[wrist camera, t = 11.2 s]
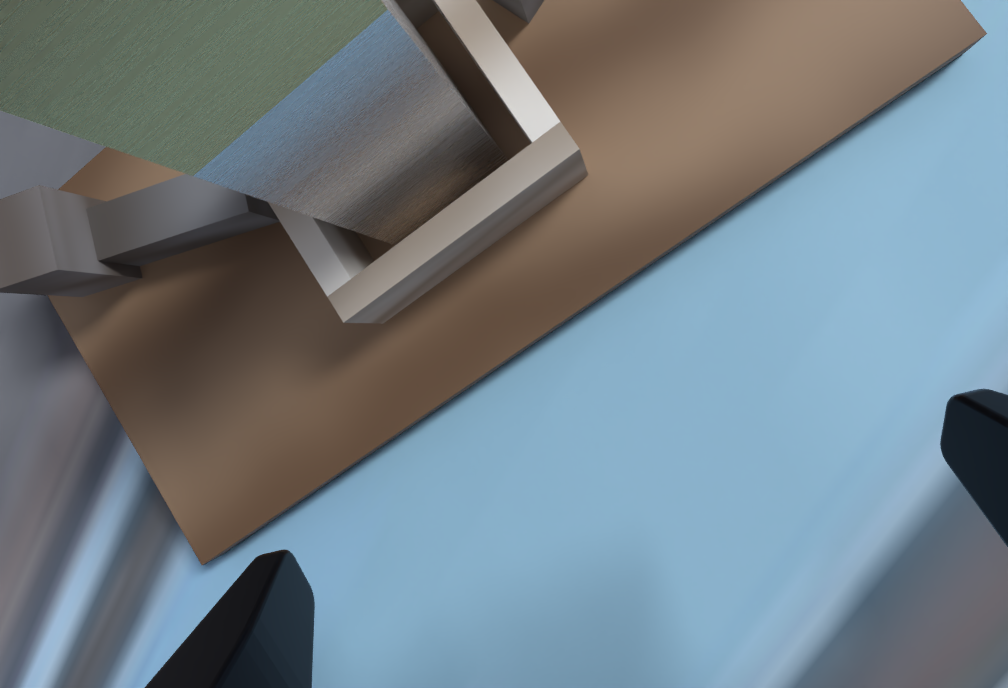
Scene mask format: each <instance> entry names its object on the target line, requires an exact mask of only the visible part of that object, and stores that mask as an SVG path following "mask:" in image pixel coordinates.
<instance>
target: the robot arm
mask: <svg viewBox="0 0 1008 688" xmlns="http://www.w3.org/2000/svg"><path fill="white" fill-rule="evenodd" d="M940 445H941V451H942V454H943V457H944V459H945V461H946V462H947V464H948V465H949V467H950V468H951V469H952V471H953V472H954V473H955V475H956V476H957V478H958V479H959V480H960V482H961V483H962V485H963V486H964V487H965V489H966V490H967V491H968V493H969V494H970V496H971V497H972V498H973V500H974V501H975V503H976V504H977V505H978V507H979V508H980V510H981V511H982V512H983V514H984V515H985V516H986V518H987V519H988V521H989V522H990V523H991V525H992V526H993V528H994V529H995V530H996V532H997V533H998V534H999V536H1000V537H1001V539H1002V540H1003V541H1004V543H1005V544H1006V545H1007V547H1008V395H1006V394H1003V393H999V392H996V391H993V390H989V389H978V390H973V391H969V392H965V393H960V394H956V395H954V396H952V397H951V398H950V399H949V401H948V402H947V406H946V411H945V417H944V423H943V429H942V435H941V442H940ZM314 608H315V603H314V596H313V592H312V589H311V586H310V584H309V583H308V581H307V579H306V577H305V575H304V574H303V572H302V570H301V568H300V566H299V564H298V563H297V561H296V559H295V557H294V556H293V554H292V553H291V552H290V551H288V550H279V551H275V552H271V553H266V554H262V555H260V556H258V557H256V558H255V559H254V560H253V561H252V562H251V564H250V565H249V566H248V567H247V568H246V569H245V571H244V572H243V573H242V574H241V575H240V576H239V578H238V579H237V580H236V581H235V582H234V583H233V585H232V586H231V587H230V588H229V589H228V591H227V592H226V593H225V594H224V595H223V596H222V598H221V599H220V600H219V601H218V602H217V603H216V605H215V606H214V607H213V608H212V609H211V610H210V612H209V613H208V614H207V615H206V616H205V617H204V619H203V620H202V621H201V622H200V623H199V625H198V626H197V627H196V628H195V629H194V630H193V632H192V633H191V634H190V635H189V636H188V637H187V639H186V640H185V641H184V642H183V643H182V644H181V646H180V647H179V648H178V649H177V650H176V651H175V653H174V654H173V655H172V656H171V657H170V659H169V660H168V661H167V662H166V663H165V664H164V666H163V667H162V668H161V669H160V670H159V671H158V673H157V674H156V675H155V676H154V677H153V678H152V680H151V681H150V682H149V683H148V684H147V686H146V687H145V688H312V663H313V636H314Z"/></svg>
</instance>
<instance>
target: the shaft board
mask: <svg viewBox="0 0 1008 688" xmlns="http://www.w3.org/2000/svg"><path fill="white" fill-rule="evenodd" d="M395 1H396V3H397V4H398V5H399V7H400V8H401V9H402V11H403V12H404V13H405V15H406V16H407V17H408V19H409V20H410V21H411V23H412V24H413V25H414V27H415V28H416V29H417V31H418V32H419V33H420V35H421V36H422V37H423V39H424V40H425V41H426V43H427V44H428V45H429V47H430V48H431V49H432V51H433V52H434V54H435V55H436V57H437V58H438V60H439V61H440V62H441V64H442V65H443V67H444V68H445V70H446V71H447V73H448V74H449V76H450V77H451V78H452V80H453V81H454V83H455V84H456V86H457V87H458V89H459V90H460V92H461V93H462V94H463V96H464V97H465V99H466V100H467V102H468V103H469V105H470V106H471V108H472V109H473V110H474V112H475V113H476V115H477V116H478V118H479V119H480V121H481V122H482V124H483V125H484V126H485V128H486V129H487V131H488V132H489V134H490V135H491V137H492V138H493V140H494V141H495V142H496V144H497V145H498V147H499V148H500V150H501V151H502V153H503V154H504V156H505V157H506V158H507V160H508V161H507V162H506V163H504V164H503V165H502V166H500V167H499V168H498V169H496V170H495V171H494V172H493V173H491V174H490V175H489V176H487V177H486V178H485V179H483V180H482V181H481V182H479V183H478V184H477V185H475V186H474V187H473V188H471V189H470V190H469V191H467V192H466V193H465V194H463V195H462V196H461V197H459V198H458V199H457V200H455V201H454V202H453V203H451V204H450V205H449V206H447V207H446V208H445V209H443V210H442V211H441V212H439V213H438V214H437V215H435V216H434V217H433V218H431V219H430V220H429V221H427V222H426V223H425V224H423V225H422V226H421V227H419V228H418V229H417V230H415V231H414V232H413V233H411V234H410V235H409V236H407V237H406V238H405V239H403V240H402V241H401V242H399V243H398V244H397V245H393V244H390V243H387V242H384V241H381V240H378V239H375V238H373V237H370V236H367V235H364V234H361V233H358V232H355V231H352V230H349V229H346V228H343V227H340V226H337V225H334V224H332V223H329V222H326V221H323V220H320V219H317V218H314V217H311V216H308V215H305V214H302V213H299V212H296V211H293V210H291V209H288V208H285V207H282V206H279V205H276V204H273V203H270V202H267V201H264V200H261V199H258V198H255V197H252V196H250V195H247V194H244V193H241V192H238V191H235V190H232V189H229V188H226V187H223V186H220V185H217V184H214V183H211V182H208V181H206V180H203V179H200V178H197V177H194V176H191V175H188V174H185V173H182V172H179V171H176V170H173V169H170V168H167V167H165V166H162V165H159V164H156V163H153V162H150V161H147V160H144V159H141V158H138V157H135V156H132V155H129V154H126V153H124V152H121V151H118V150H115V149H112V148H109V147H105V148H104V149H103V150H102V151H101V152H100V153H99V154H98V155H97V156H95V157H94V158H93V159H92V160H91V161H90V162H89V163H88V164H86V165H85V166H84V167H83V168H82V169H81V170H80V171H79V172H77V173H76V174H75V175H74V176H73V177H72V178H71V179H70V180H68V181H67V182H66V183H65V184H64V185H63V186H62V187H61V188H59V189H58V190H57V189H52V188H48V187H44V186H40V185H38V186H35V187H33V188H30V189H27V190H24V191H22V192H19V193H16V194H14V195H11V196H8V197H5V198H3V199H0V292H1V293H19V294H36V295H48V297H49V299H50V301H51V302H52V304H53V306H54V308H55V309H56V311H57V313H58V315H59V316H60V318H61V320H62V322H63V323H64V325H65V327H66V329H67V330H68V332H69V334H70V336H71V337H72V339H73V341H74V343H75V344H76V346H77V348H78V350H79V351H80V353H81V355H82V357H83V358H84V360H85V362H86V364H87V365H88V367H89V369H90V371H91V372H92V374H93V376H94V378H95V379H96V381H97V383H98V385H99V386H100V388H101V390H102V392H103V393H104V395H105V397H106V399H107V400H108V402H109V404H110V406H111V407H112V409H113V411H114V412H115V414H116V416H117V418H118V419H119V421H120V423H121V425H122V426H123V428H124V430H125V432H126V433H127V435H128V437H129V439H130V440H131V442H132V444H133V446H134V447H135V449H136V451H137V453H138V454H139V456H140V458H141V460H142V461H143V463H144V465H145V467H146V468H147V470H148V472H149V474H150V475H151V477H152V479H153V481H154V482H155V484H156V486H157V488H158V489H159V491H160V493H161V495H162V496H163V498H164V500H165V502H166V503H167V505H168V507H169V509H170V510H171V512H172V514H173V516H174V517H175V519H176V521H177V523H178V524H179V526H180V528H181V530H182V531H183V533H184V535H185V537H186V538H187V540H188V542H189V544H190V545H191V547H192V549H193V551H194V552H195V554H196V556H197V557H198V559H199V561H200V563H201V564H202V565H204V564H206V563H207V562H209V561H211V560H213V559H215V558H217V557H219V556H221V555H222V554H224V553H225V552H227V551H228V550H230V549H231V548H233V547H234V546H236V545H237V544H239V543H240V542H242V541H243V540H245V539H246V538H248V537H249V536H251V535H252V534H253V533H255V532H256V531H258V530H259V529H261V528H262V527H264V526H265V525H267V524H268V523H270V522H271V521H273V520H274V519H276V518H277V517H279V516H280V515H282V514H283V513H285V512H286V511H287V510H289V509H290V508H292V507H293V506H295V505H296V504H298V503H299V502H301V501H302V500H304V499H305V498H307V497H308V496H310V495H311V494H313V493H314V492H316V491H317V490H319V489H320V488H322V487H323V486H324V485H326V484H327V483H329V482H330V481H332V480H333V479H335V478H336V477H338V476H339V475H341V474H342V473H344V472H345V471H347V470H348V469H350V468H351V467H353V466H354V465H356V464H357V463H358V462H360V461H361V460H363V459H364V458H366V457H367V456H369V455H370V454H372V453H373V452H375V451H376V450H378V449H379V448H381V447H382V446H384V445H385V444H387V443H388V442H390V441H391V440H392V439H394V438H395V437H397V436H398V435H400V434H401V433H403V432H404V431H406V430H407V429H409V428H410V427H412V426H413V425H415V424H416V423H418V422H419V421H421V420H422V419H424V418H425V417H426V416H428V415H429V414H431V413H432V412H434V411H435V410H437V409H438V408H440V407H441V406H443V405H444V404H446V403H447V402H449V401H450V400H452V399H453V398H455V397H456V396H458V395H459V394H461V393H462V392H463V391H465V390H466V389H468V388H469V387H471V386H472V385H474V384H475V383H477V382H478V381H480V380H481V379H483V378H484V377H486V376H487V375H489V374H490V373H492V372H493V371H495V370H496V369H497V368H499V367H500V366H502V365H503V364H505V363H506V362H508V361H509V360H511V359H512V358H514V357H515V356H517V355H518V354H520V353H521V352H523V351H524V350H526V349H527V348H529V347H530V346H531V345H533V344H534V343H536V342H537V341H539V340H540V339H542V338H543V337H545V336H546V335H548V334H549V333H551V332H552V331H554V330H555V329H557V328H558V327H560V326H561V325H563V324H564V323H565V322H567V321H568V320H570V319H571V318H573V317H574V316H576V315H577V314H579V313H580V312H582V311H583V310H585V309H586V308H588V307H589V306H591V305H592V304H594V303H595V302H597V301H598V300H600V299H601V298H602V297H604V296H605V295H607V294H608V293H610V292H611V291H613V290H614V289H616V288H617V287H619V286H620V285H622V284H623V283H625V282H626V281H628V280H629V279H631V278H632V277H634V276H635V275H636V274H638V273H639V272H641V271H642V270H644V269H645V268H647V267H648V266H650V265H651V264H653V263H654V262H656V261H657V260H659V259H660V258H662V257H663V256H665V255H666V254H668V253H669V252H670V251H672V250H673V249H675V248H676V247H678V246H679V245H681V244H682V243H684V242H685V241H687V240H688V239H690V238H691V237H693V236H694V235H696V234H697V233H699V232H700V231H702V230H703V229H704V228H706V227H707V226H709V225H710V224H712V223H713V222H715V221H716V220H718V219H719V218H721V217H722V216H724V215H725V214H727V213H728V212H730V211H731V210H733V209H734V208H736V207H737V206H739V205H740V204H741V203H743V202H744V201H746V200H747V199H749V198H750V197H752V196H753V195H755V194H756V193H758V192H759V191H761V190H762V189H764V188H765V187H767V186H768V185H770V184H771V183H773V182H774V181H775V180H777V179H778V178H780V177H781V176H783V175H784V174H786V173H787V172H789V171H790V170H792V169H793V168H795V167H796V166H798V165H799V164H801V163H802V162H804V161H805V160H807V159H808V158H809V157H811V156H812V155H814V154H815V153H817V152H818V151H820V150H821V149H823V148H824V147H826V146H827V145H829V144H830V143H832V142H833V141H835V140H836V139H838V138H839V137H841V136H842V135H843V134H845V133H846V132H848V131H849V130H851V129H852V128H854V127H855V126H857V125H858V124H860V123H861V122H863V121H864V120H866V119H867V118H869V117H870V116H872V115H873V114H875V113H876V112H878V111H879V110H880V109H882V108H883V107H885V106H886V105H888V104H889V103H891V102H892V101H894V100H895V99H897V98H898V97H900V96H901V95H903V94H904V93H906V92H907V91H909V90H910V89H912V88H913V87H914V86H916V85H917V84H919V83H920V82H922V81H923V80H925V79H926V78H928V77H929V76H931V75H932V74H934V73H935V72H937V71H938V70H940V69H941V68H943V67H944V66H946V65H947V64H948V63H950V62H951V61H953V60H954V59H956V58H957V57H959V56H960V55H962V54H963V53H965V52H966V51H967V50H968V49H970V48H971V47H972V46H973V45H974V44H975V43H977V42H978V41H979V40H980V39H981V38H982V37H984V36H985V35H986V34H987V33H986V32H985V31H984V29H983V28H982V27H981V26H980V24H979V23H978V22H977V20H976V19H975V18H974V17H973V15H972V14H971V13H970V12H969V10H968V9H967V8H966V7H965V5H964V4H963V3H962V2H961V0H395Z"/></svg>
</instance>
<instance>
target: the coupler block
mask: <svg viewBox="0 0 1008 688" xmlns="http://www.w3.org/2000/svg"><path fill="white" fill-rule="evenodd" d="M0 110H1V111H3V112H6V113H9V114H12V115H15V116H18V117H21V118H24V119H27V120H30V121H33V122H36V123H39V124H42V125H44V126H47V127H50V128H53V129H56V130H59V131H62V132H65V133H68V134H71V135H74V136H77V137H80V138H83V139H85V140H88V141H91V142H94V143H97V144H100V145H103V146H106V147H109V148H112V149H115V150H118V151H121V152H124V153H126V154H129V155H132V156H135V157H138V158H141V159H144V160H147V161H150V162H153V163H156V164H159V165H162V166H165V167H167V168H170V169H173V170H176V171H179V172H182V173H185V174H188V175H191V176H194V177H197V178H200V179H203V180H206V181H208V182H211V183H214V184H217V185H220V186H223V187H226V188H229V189H232V190H235V191H238V192H241V193H244V194H247V195H250V196H252V197H255V198H258V199H261V200H264V201H267V202H270V203H273V204H276V205H279V206H282V207H285V208H288V209H291V210H293V211H296V212H299V213H302V214H305V215H308V216H311V217H314V218H317V219H320V220H323V221H326V222H329V223H332V224H334V225H337V226H340V227H343V228H346V229H349V230H352V231H355V232H358V233H361V234H364V235H367V236H370V237H373V238H375V239H378V240H381V241H384V242H387V243H390V244H393V245H397V244H398V243H399V242H401V241H402V240H403V239H405V238H406V237H407V236H409V235H410V234H411V233H413V232H414V231H415V230H417V229H418V228H419V227H421V226H422V225H423V224H425V223H426V222H427V221H429V220H430V219H431V218H433V217H434V216H435V215H437V214H438V213H439V212H441V211H442V210H443V209H445V208H446V207H447V206H449V205H450V204H451V203H453V202H454V201H455V200H457V199H458V198H459V197H461V196H462V195H463V194H465V193H466V192H467V191H469V190H470V189H471V188H473V187H474V186H475V185H477V184H478V183H479V182H481V181H482V180H483V179H485V178H486V177H487V176H489V175H490V174H491V173H493V172H494V171H495V170H496V169H498V168H499V167H500V166H502V165H503V164H504V163H506V162H507V161H508V160H507V158H506V157H505V156H504V154H503V153H502V151H501V150H500V148H499V147H498V145H497V144H496V142H495V141H494V140H493V138H492V137H491V135H490V134H489V132H488V131H487V129H486V128H485V126H484V125H483V124H482V122H481V121H480V119H479V118H478V116H477V115H476V113H475V112H474V110H473V109H472V108H471V106H470V105H469V103H468V102H467V100H466V99H465V97H464V96H463V94H462V93H461V92H460V90H459V89H458V87H457V86H456V84H455V83H454V81H453V80H452V78H451V77H450V76H449V74H448V73H447V71H446V70H445V68H444V67H443V65H442V64H441V62H440V61H439V60H438V58H437V57H436V55H435V54H434V52H433V51H432V49H431V48H430V47H429V45H428V44H427V43H426V41H425V40H424V39H423V37H422V36H421V35H420V33H419V32H418V31H417V29H416V28H415V27H414V25H413V24H412V23H411V21H410V20H409V19H408V17H407V16H406V15H405V13H404V12H403V11H402V9H401V8H400V7H399V5H398V4H397V3H396V1H395V0H0Z"/></svg>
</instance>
